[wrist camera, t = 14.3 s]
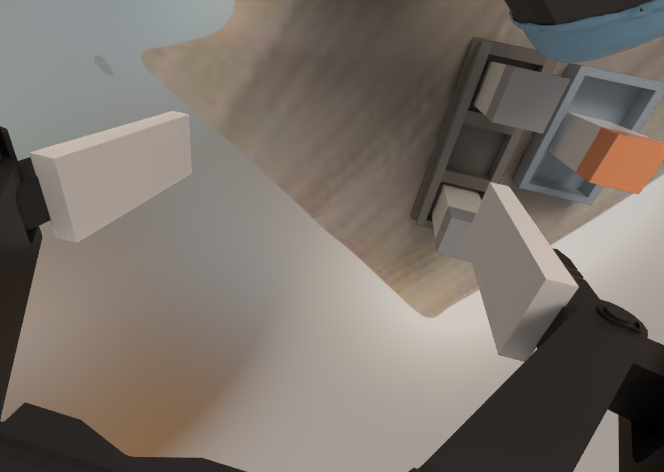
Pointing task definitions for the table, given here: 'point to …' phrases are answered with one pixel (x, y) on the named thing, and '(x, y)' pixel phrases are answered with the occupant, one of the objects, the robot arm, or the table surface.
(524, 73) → the block
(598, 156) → the block
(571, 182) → the tray
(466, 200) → the block
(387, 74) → the table surface
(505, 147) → the block
